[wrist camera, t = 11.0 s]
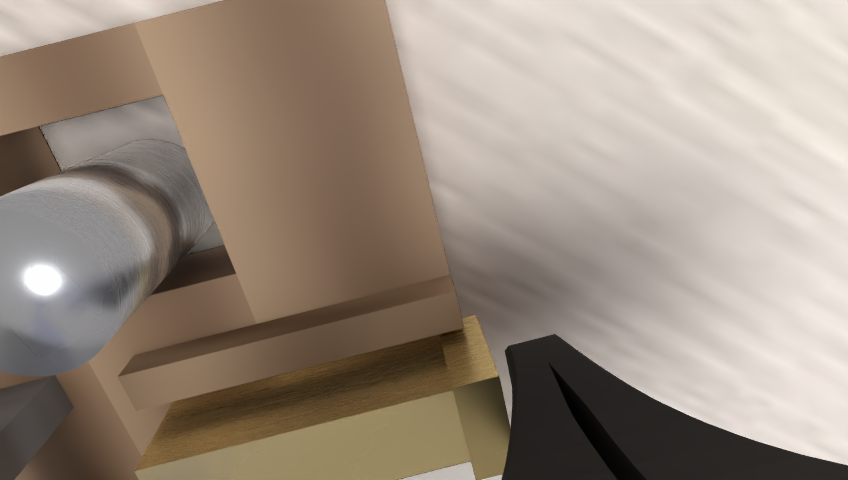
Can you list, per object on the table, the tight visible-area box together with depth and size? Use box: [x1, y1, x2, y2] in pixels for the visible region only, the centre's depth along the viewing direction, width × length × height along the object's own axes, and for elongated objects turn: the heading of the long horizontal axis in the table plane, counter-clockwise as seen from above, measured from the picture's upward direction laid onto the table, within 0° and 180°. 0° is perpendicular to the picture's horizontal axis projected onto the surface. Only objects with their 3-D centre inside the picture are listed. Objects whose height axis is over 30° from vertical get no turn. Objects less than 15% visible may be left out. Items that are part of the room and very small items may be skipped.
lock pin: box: [134, 315, 511, 480], centre depth 12 cm, size 8×3×3 cm, turn 103°
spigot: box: [0, 140, 214, 376], centre depth 11 cm, size 3×3×6 cm
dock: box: [0, 0, 469, 480], centre depth 12 cm, size 13×12×6 cm
